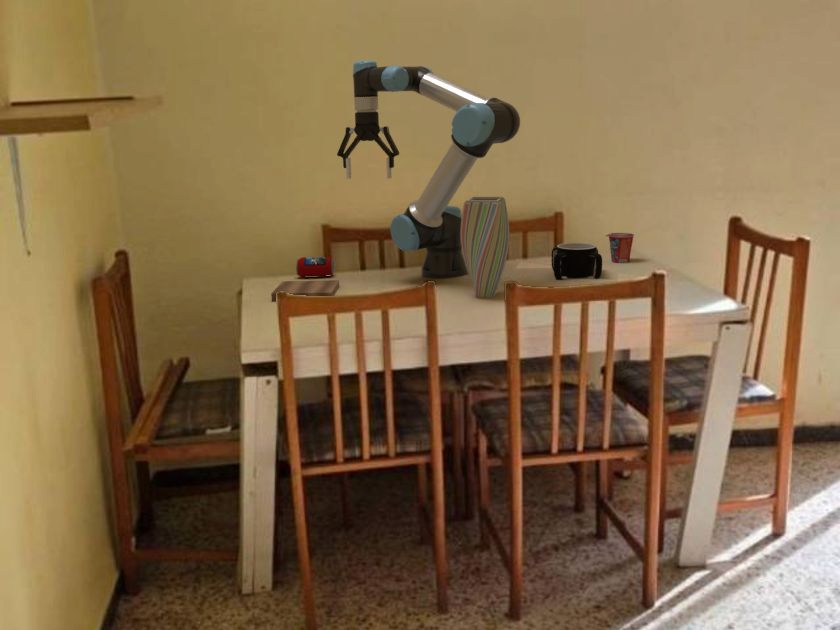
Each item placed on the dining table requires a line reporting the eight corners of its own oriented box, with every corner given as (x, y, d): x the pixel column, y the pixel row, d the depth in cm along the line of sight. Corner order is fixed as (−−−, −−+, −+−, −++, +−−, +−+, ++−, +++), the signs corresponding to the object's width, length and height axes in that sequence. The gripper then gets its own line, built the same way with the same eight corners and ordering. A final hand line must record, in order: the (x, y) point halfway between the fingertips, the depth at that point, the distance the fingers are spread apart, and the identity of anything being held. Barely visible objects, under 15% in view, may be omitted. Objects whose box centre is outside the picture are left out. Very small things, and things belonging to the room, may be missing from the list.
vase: (511, 298, 263) (511, 195, 256) (505, 308, 250) (505, 201, 243) (466, 296, 266) (465, 195, 259) (458, 307, 253) (456, 201, 246)
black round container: (551, 277, 290) (552, 241, 287) (602, 278, 287) (603, 241, 284) (548, 288, 275) (548, 249, 272) (601, 289, 271) (602, 250, 269)
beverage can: (331, 256, 296) (295, 257, 296) (332, 277, 296) (296, 277, 296) (333, 256, 303) (298, 257, 303) (334, 276, 303) (299, 277, 303)
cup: (616, 266, 306) (617, 231, 303) (638, 269, 300) (639, 234, 297) (600, 270, 300) (601, 235, 297) (621, 273, 294) (622, 237, 291)
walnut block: (339, 289, 283) (339, 280, 282) (332, 302, 265) (331, 292, 265) (283, 290, 283) (282, 281, 283) (271, 303, 266) (271, 293, 265)
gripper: (407, 110, 285) (409, 177, 291) (333, 111, 291) (336, 177, 296) (401, 110, 278) (403, 179, 284) (325, 112, 284) (328, 179, 289)
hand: (369, 178), depth 290 cm, fingers open, 13 cm apart
